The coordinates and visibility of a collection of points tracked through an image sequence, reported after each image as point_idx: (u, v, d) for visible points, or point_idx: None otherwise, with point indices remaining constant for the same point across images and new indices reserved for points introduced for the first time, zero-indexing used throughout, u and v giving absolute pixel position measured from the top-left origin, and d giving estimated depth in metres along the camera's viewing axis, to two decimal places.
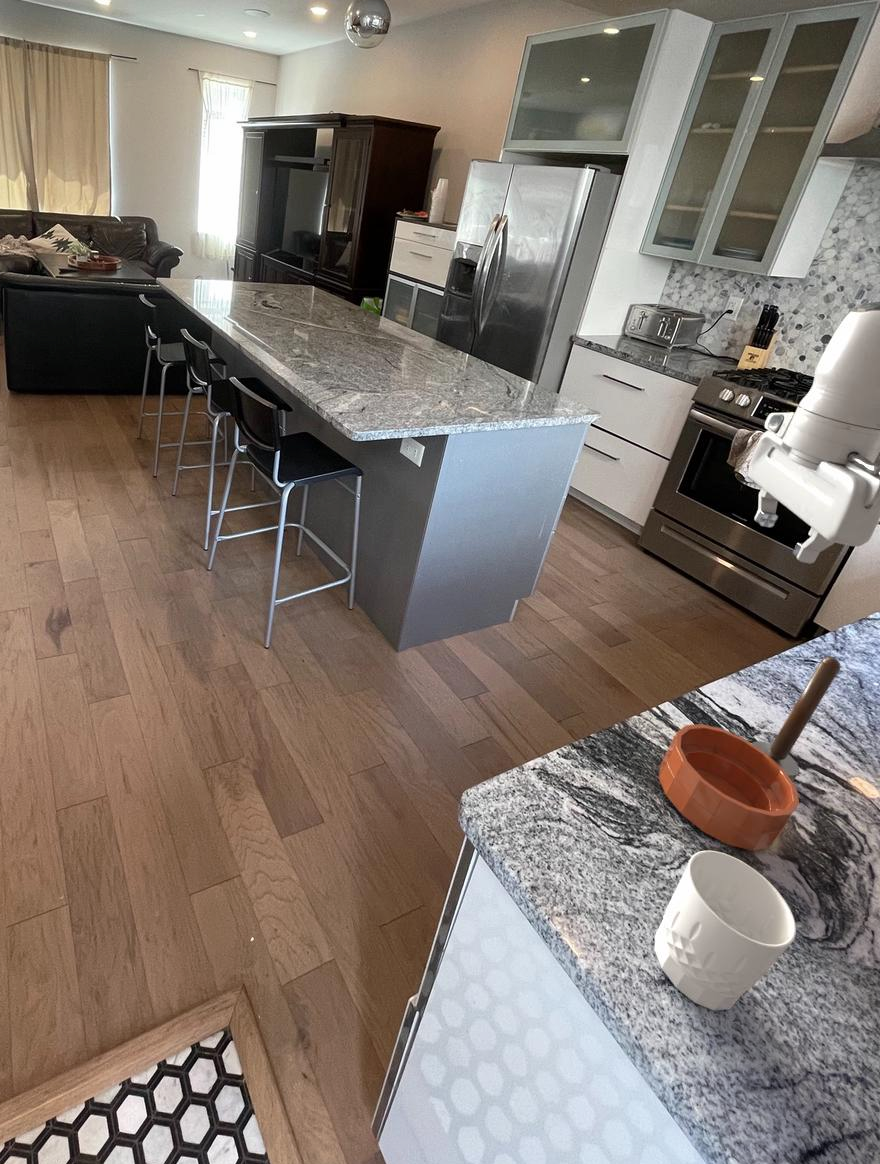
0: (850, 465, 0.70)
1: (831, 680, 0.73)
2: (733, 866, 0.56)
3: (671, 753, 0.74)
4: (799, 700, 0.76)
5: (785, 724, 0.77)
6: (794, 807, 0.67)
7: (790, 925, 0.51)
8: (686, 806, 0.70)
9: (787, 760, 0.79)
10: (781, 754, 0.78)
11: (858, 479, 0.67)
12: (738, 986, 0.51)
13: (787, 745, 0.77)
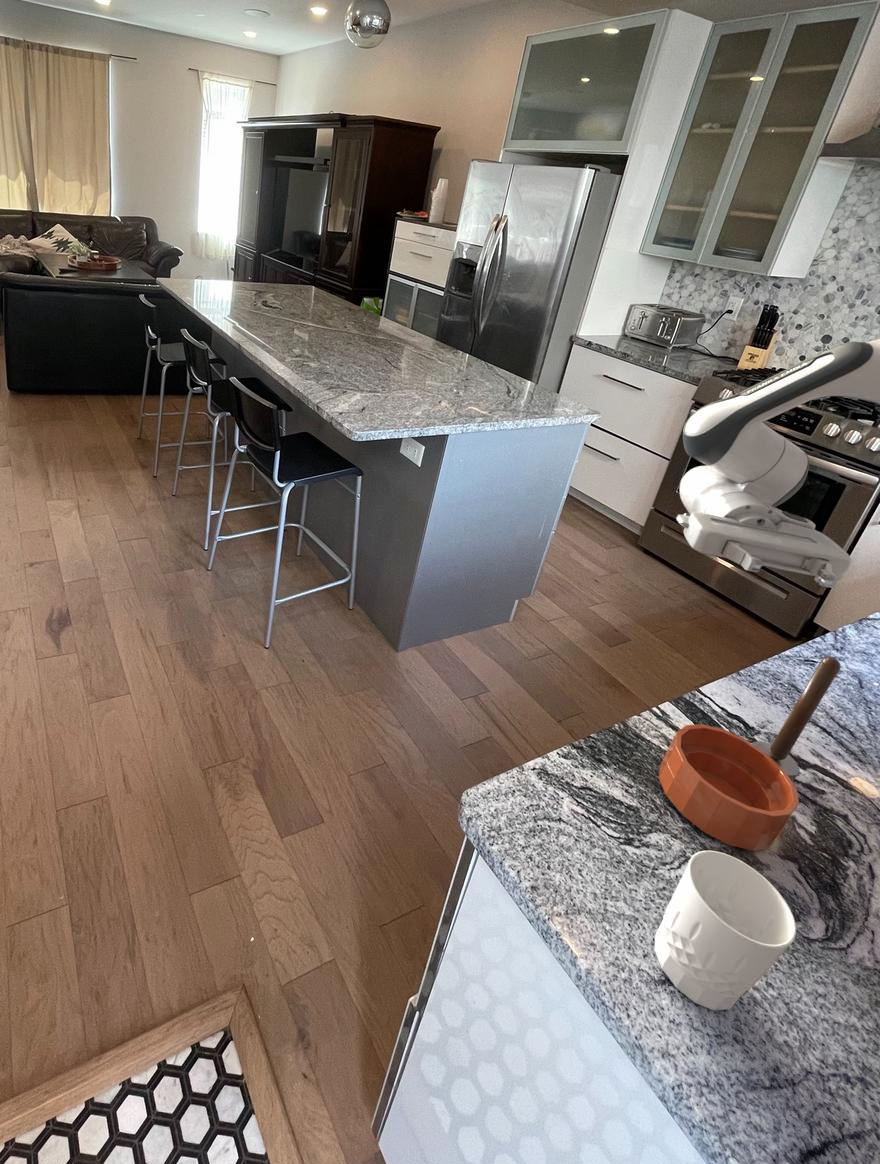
0: None
1: (831, 680, 0.73)
2: (733, 866, 0.56)
3: (671, 753, 0.74)
4: (799, 700, 0.76)
5: (785, 724, 0.77)
6: (794, 807, 0.67)
7: (790, 925, 0.51)
8: (686, 806, 0.70)
9: (787, 760, 0.79)
10: (781, 754, 0.78)
11: None
12: (738, 986, 0.51)
13: (787, 745, 0.77)
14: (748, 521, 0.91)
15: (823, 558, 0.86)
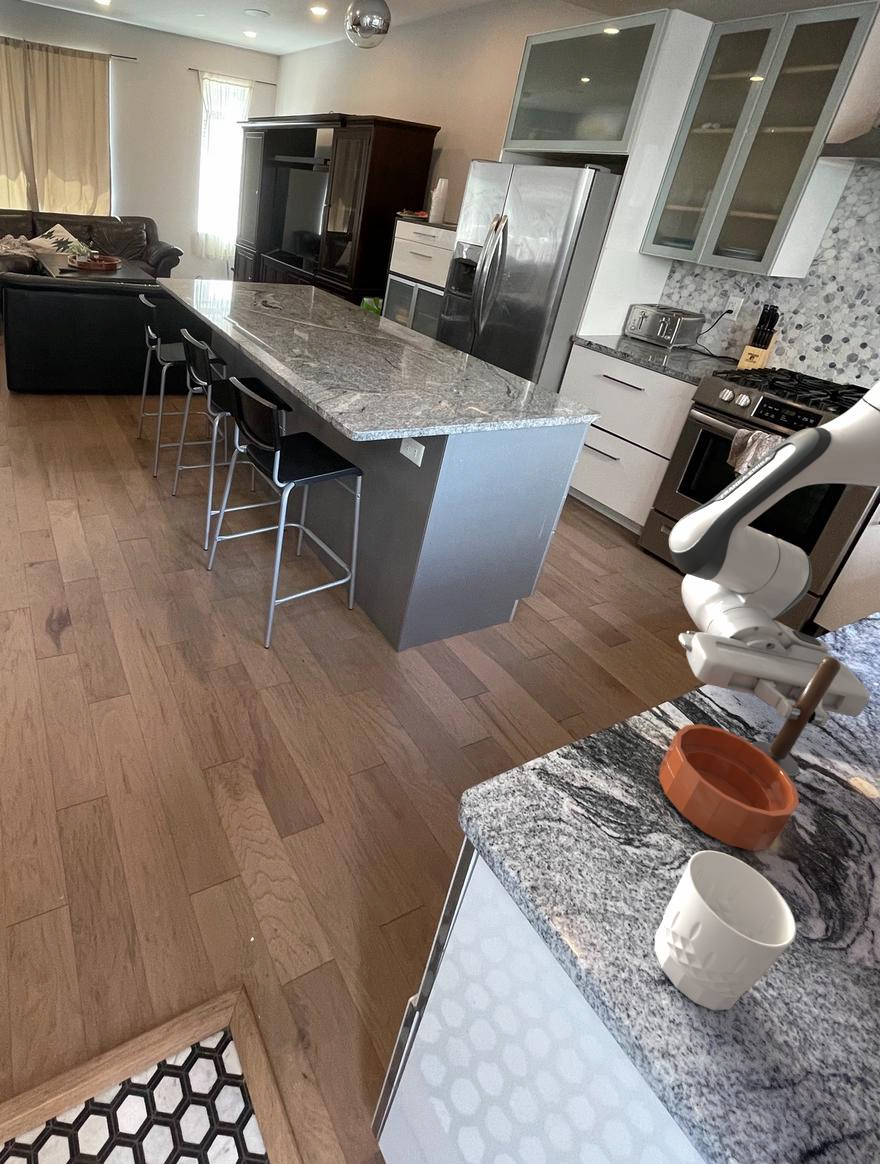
0: None
1: (831, 680, 0.73)
2: (733, 866, 0.56)
3: (671, 753, 0.74)
4: (799, 700, 0.76)
5: (785, 724, 0.77)
6: (794, 807, 0.67)
7: (790, 925, 0.51)
8: (686, 806, 0.70)
9: (787, 760, 0.79)
10: (781, 754, 0.78)
11: None
12: (738, 986, 0.51)
13: (787, 745, 0.77)
14: (756, 645, 0.84)
15: (839, 694, 0.79)
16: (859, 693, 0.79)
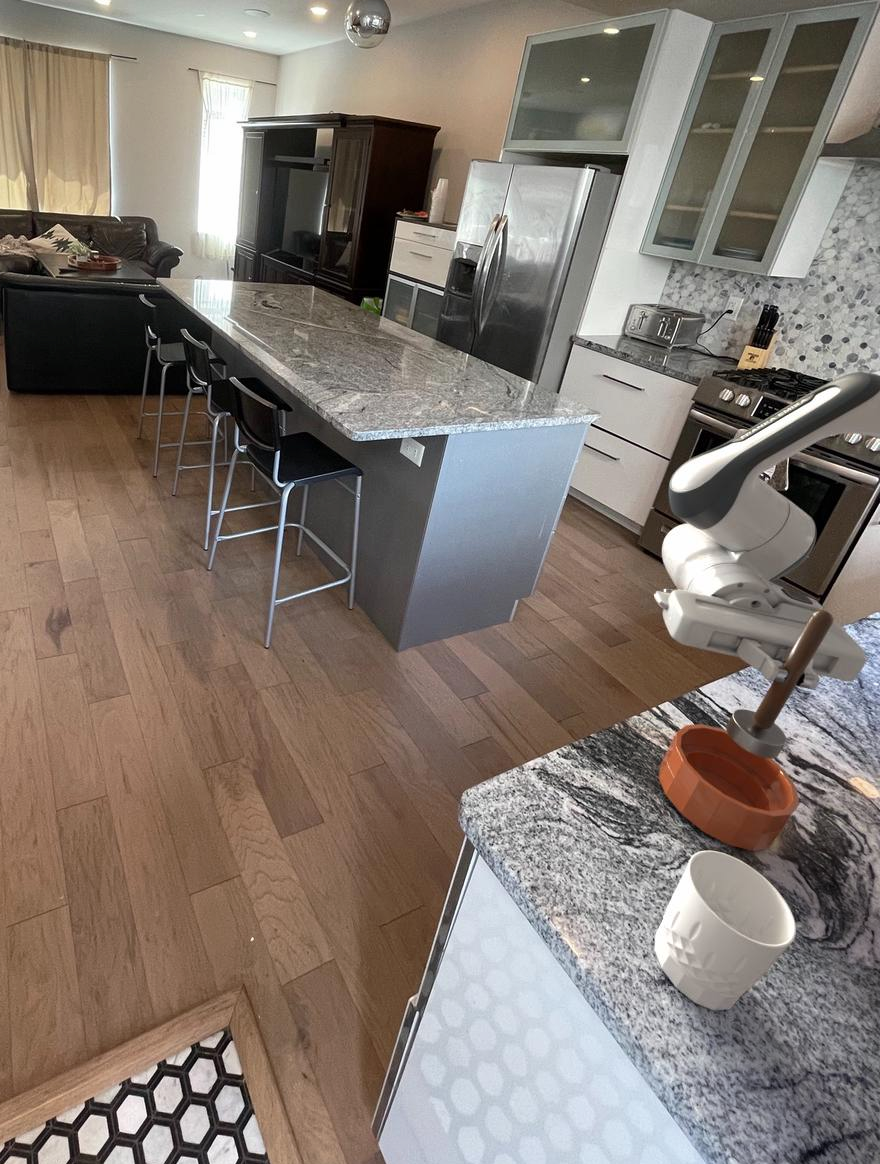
0: None
1: (823, 636, 0.64)
2: (733, 866, 0.56)
3: (671, 753, 0.74)
4: (786, 660, 0.67)
5: (771, 688, 0.68)
6: (794, 807, 0.67)
7: (790, 925, 0.51)
8: (686, 806, 0.70)
9: (773, 729, 0.70)
10: (766, 722, 0.69)
11: None
12: (738, 986, 0.51)
13: (773, 711, 0.68)
14: (740, 603, 0.75)
15: (832, 655, 0.70)
16: (855, 654, 0.70)
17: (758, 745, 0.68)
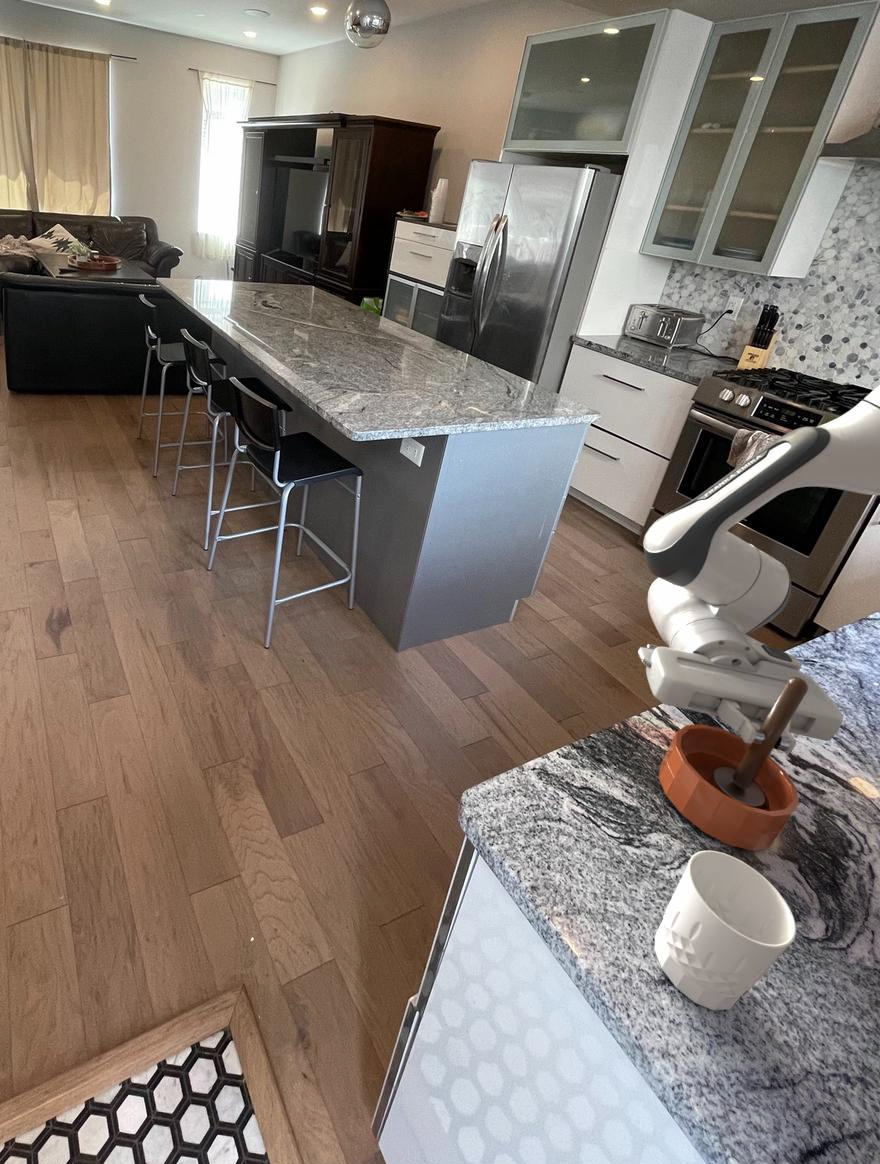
0: None
1: (798, 703, 0.66)
2: (733, 866, 0.56)
3: (671, 753, 0.74)
4: (764, 724, 0.69)
5: (749, 750, 0.70)
6: (794, 807, 0.67)
7: (790, 925, 0.51)
8: (686, 806, 0.70)
9: (752, 788, 0.72)
10: (745, 782, 0.71)
11: None
12: (738, 986, 0.51)
13: (751, 772, 0.70)
14: (721, 661, 0.77)
15: (809, 716, 0.72)
16: (831, 715, 0.72)
17: None
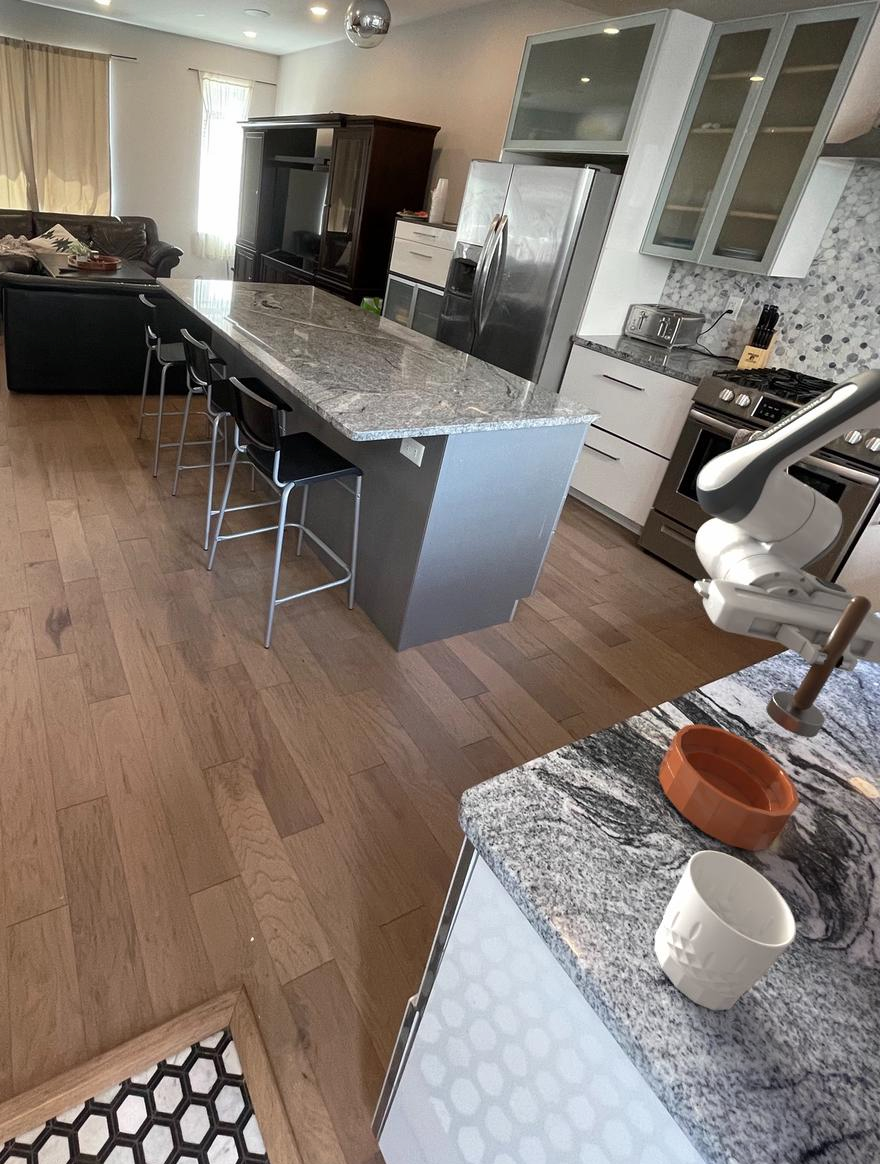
0: None
1: (861, 620, 0.68)
2: (733, 866, 0.56)
3: (671, 753, 0.74)
4: (825, 644, 0.71)
5: (810, 671, 0.72)
6: (794, 807, 0.67)
7: (790, 925, 0.51)
8: (686, 806, 0.70)
9: (811, 710, 0.74)
10: (805, 703, 0.73)
11: None
12: (738, 986, 0.51)
13: (812, 693, 0.72)
14: (778, 591, 0.79)
15: (867, 639, 0.74)
16: None
17: (798, 724, 0.72)
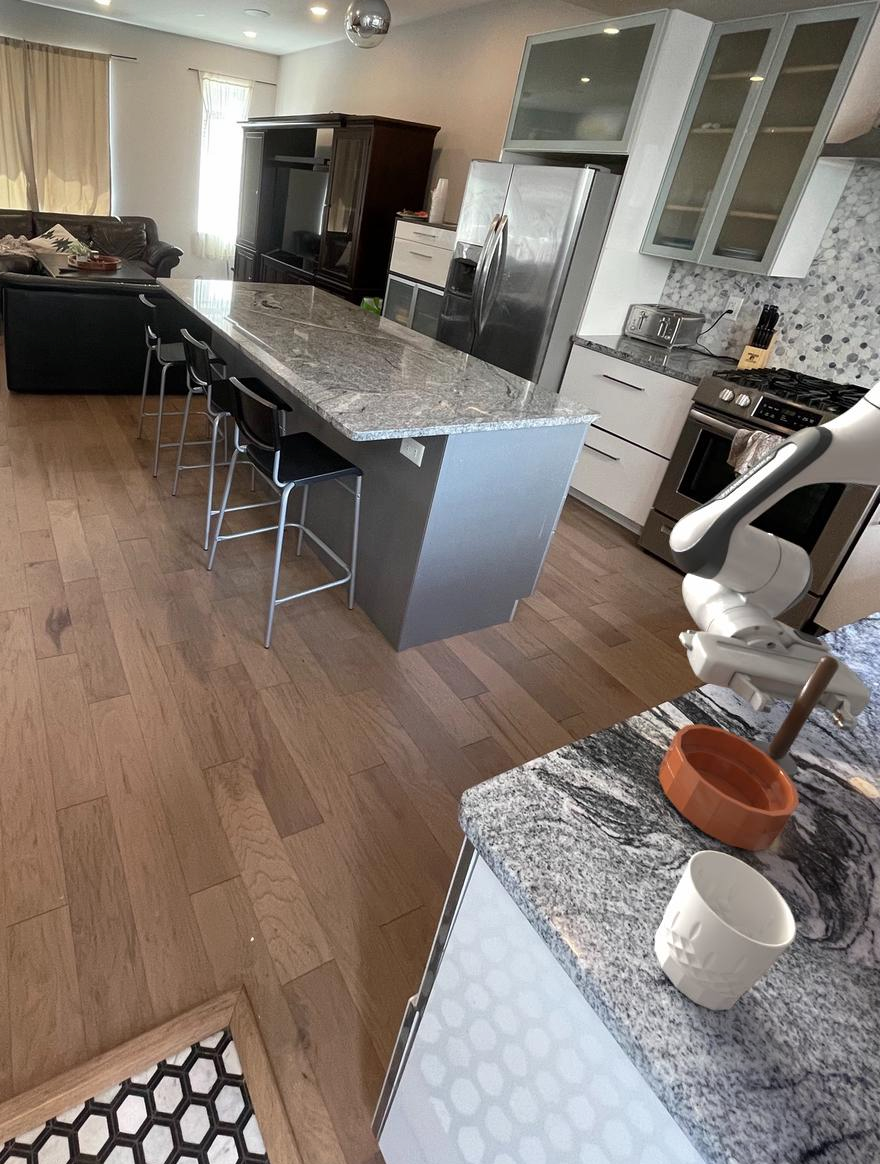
0: None
1: (829, 679, 0.73)
2: (733, 866, 0.56)
3: (671, 753, 0.74)
4: (797, 699, 0.76)
5: (783, 723, 0.78)
6: (794, 807, 0.67)
7: (790, 925, 0.51)
8: (686, 806, 0.70)
9: (785, 759, 0.79)
10: (779, 753, 0.78)
11: None
12: (738, 986, 0.51)
13: (785, 744, 0.77)
14: (757, 644, 0.84)
15: (840, 693, 0.79)
16: (860, 692, 0.79)
17: None
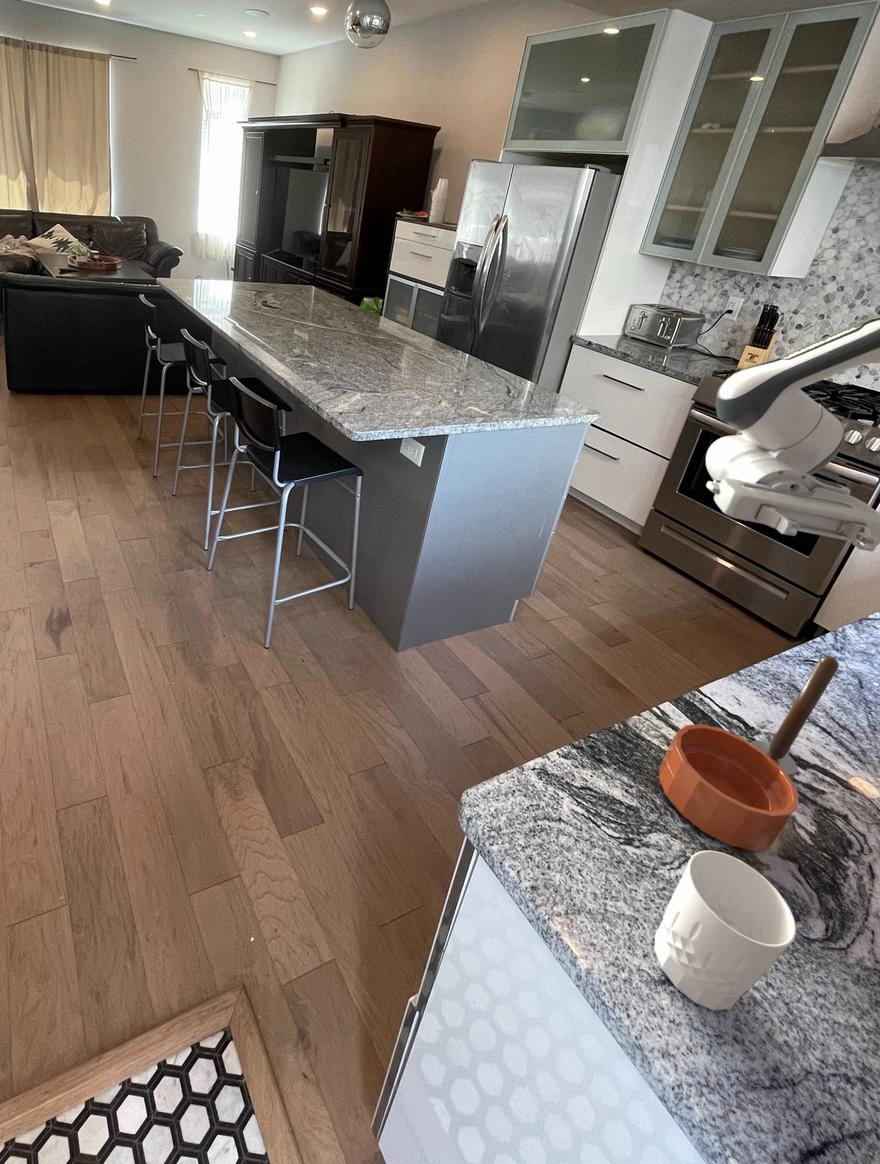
0: None
1: (829, 679, 0.73)
2: (733, 866, 0.56)
3: (671, 753, 0.74)
4: (797, 699, 0.76)
5: (783, 723, 0.78)
6: (794, 807, 0.67)
7: (790, 925, 0.51)
8: (686, 806, 0.70)
9: (785, 759, 0.79)
10: (779, 753, 0.78)
11: None
12: (738, 986, 0.51)
13: (785, 744, 0.77)
14: (781, 487, 0.89)
15: (861, 522, 0.83)
16: None
17: None
